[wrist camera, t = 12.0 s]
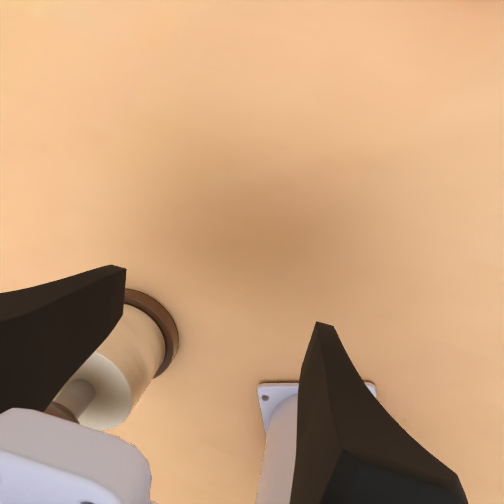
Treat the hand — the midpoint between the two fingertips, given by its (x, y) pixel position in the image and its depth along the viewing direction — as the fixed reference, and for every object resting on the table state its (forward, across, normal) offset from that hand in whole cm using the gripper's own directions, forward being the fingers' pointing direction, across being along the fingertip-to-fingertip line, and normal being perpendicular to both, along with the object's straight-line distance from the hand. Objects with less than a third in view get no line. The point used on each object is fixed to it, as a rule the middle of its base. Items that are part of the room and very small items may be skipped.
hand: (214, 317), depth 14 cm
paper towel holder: (+10, +7, +10) cm, 16 cm away
